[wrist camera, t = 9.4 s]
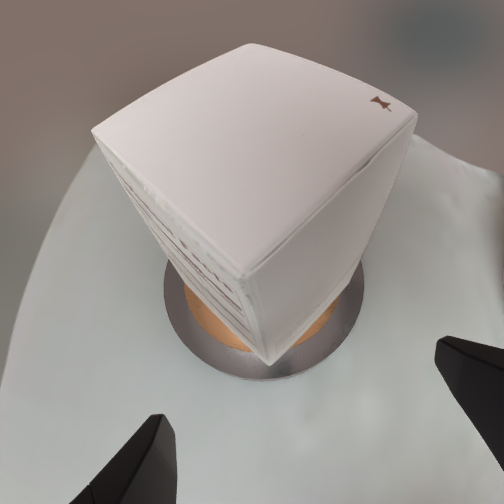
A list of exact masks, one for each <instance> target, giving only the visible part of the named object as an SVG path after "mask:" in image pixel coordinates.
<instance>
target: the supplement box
mask: <svg viewBox="0 0 504 504" xmlns="http://www.w3.org/2000/svg"><path fill="white" fill-rule="evenodd" d="M417 119H418V114H417V112H415V111H414V110H413V109H411V108H410V107H408V106H407V105H405V104H404V103H402V102H400V101H399V100H397V99H395V98H394V97H392V96H390V95H388V94H386V93H384V92H383V91H381V90H379V89H376V88H375V87H373V86H371V85H369V84H366V83H364V82H362V81H360V80H357V79H355V78H353V77H351V76H348V75H346V74H343V73H341V72H339V71H336V70H334V69H331V68H328V67H326V66H323V65H320V64H318V63H315V62H313V61H310V60H307V59H304V58H301V57H298V56H295V55H292V54H289V53H286V52H283V51H280V50H277V49H273V48H270V47H266V46H262V45H258V44H253V43H250V44H246V45H244V46H241V47H239V48H237V49H235V50H232V51H230V52H228V53H226V54H223V55H221V56H219V57H217V58H215V59H212V60H210V61H208V62H206V63H204V64H202V65H200V66H198V67H195V68H193V69H192V70H190V71H188V72H186V73H184V74H182V75H180V76H178V77H176V78H174V79H172V80H170V81H169V82H167V83H165V84H163V85H161V86H160V87H158V88H156V89H154V90H152V91H151V92H149V93H147V94H146V95H144V96H142V97H141V98H139V99H137V100H136V101H134V102H133V103H131V104H129V105H128V106H126V107H125V108H123V109H121V110H120V111H118V112H117V113H115V114H114V115H112V116H111V117H109V118H108V119H106V120H105V121H103V122H102V123H100V124H99V125H97V126H96V127H94V128H93V129H92V130H91V132H92V133H93V136H94V138H95V140H96V142H97V143H98V145H99V147H100V149H101V151H102V152H103V154H104V156H105V158H106V159H107V161H108V163H109V164H110V166H111V168H112V169H113V171H114V173H115V174H116V176H117V178H118V179H119V181H120V183H121V185H122V186H123V188H124V189H125V191H126V193H127V194H128V196H129V197H130V199H131V201H132V202H133V204H134V205H135V207H136V208H137V210H138V212H139V213H140V215H141V216H142V218H143V219H144V221H145V222H146V224H147V225H148V227H149V228H150V230H151V232H152V233H153V235H154V236H155V238H156V239H157V241H158V242H159V244H160V246H161V247H162V249H163V250H164V252H165V253H166V255H167V257H168V258H169V259H170V261H171V263H172V264H173V266H174V267H175V269H176V270H177V272H178V273H179V275H180V276H181V278H182V279H183V281H184V282H185V283H186V285H187V286H188V287H189V288H190V289H191V290H192V291H193V292H194V293H195V294H196V295H197V296H198V297H199V298H200V299H201V300H202V301H203V302H204V304H205V305H206V306H207V307H208V308H209V309H210V310H211V311H212V312H213V313H214V314H215V315H216V316H217V317H218V318H219V319H220V320H221V321H222V322H223V323H224V324H225V325H226V326H227V327H228V328H229V329H230V330H231V331H232V332H233V333H234V334H235V335H236V336H237V337H238V338H239V339H240V340H241V341H242V342H243V343H244V344H245V345H246V346H247V347H249V348H250V349H251V350H252V351H253V352H254V353H255V354H256V355H257V356H258V357H259V358H260V359H261V360H262V361H263V362H265V363H266V364H267V365H268V366H271V365H272V364H273V363H274V362H276V361H277V360H278V359H279V358H280V357H281V356H282V355H283V354H284V353H285V352H286V351H287V350H288V349H289V348H290V347H291V346H292V345H293V344H294V343H295V342H296V341H297V340H298V339H299V338H300V337H301V336H302V335H303V334H304V333H305V332H306V331H307V330H308V329H309V328H310V326H311V325H312V324H313V323H314V322H315V321H316V320H317V319H318V318H319V317H320V316H321V314H322V313H323V312H324V311H325V310H326V309H327V308H328V307H329V305H330V304H331V303H332V302H333V301H334V300H335V299H336V298H337V296H338V295H339V294H340V293H341V292H342V291H343V289H344V288H345V287H346V286H347V285H348V284H349V282H350V279H351V277H352V275H353V273H354V271H355V269H356V267H357V265H358V263H359V261H360V259H361V257H362V255H363V253H364V251H365V249H366V247H367V244H368V242H369V240H370V238H371V236H372V234H373V231H374V229H375V227H376V225H377V223H378V220H379V218H380V216H381V213H382V211H383V209H384V206H385V204H386V202H387V200H388V197H389V195H390V192H391V190H392V187H393V185H394V182H395V180H396V177H397V175H398V172H399V170H400V167H401V164H402V162H403V159H404V156H405V154H406V151H407V148H408V146H409V143H410V140H411V137H412V134H413V131H414V128H415V125H416V122H417Z"/></svg>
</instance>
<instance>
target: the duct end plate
mask: <svg viewBox="0 0 504 504" xmlns="http://www.w3.org/2000/svg"><path fill="white" fill-rule="evenodd" d="M363 292H364V275H363V269H362V264H361V261H359V263H358V265H357V267H356V269H355V271H354V273H353V275H352V277H351V279H350V282H349V284H348V285H347V286H346V287H345V288H344V289H343V291H342V292H341V293H340V294H339V295H338V296H337V298H336V299H335V300H334V301H333V302H332V303H331V304H330V305H329V307H328V308H327V309H326V310H325V311H324V312H323V313H322V314H321V316H320V317H319V318H318V319H317V320H316V321H315V322H314V323H313V324H312V325H311V326H310V328H309V329H308V330H307V331H306V332H305V333H304V334H303V335H302V336H301V337H300V338H299V339H298V340H297V341H296V342H295V343H294V344H293V345H292V346H291V347H290V348H289V349H288V350H287V351H286V352H285V353H284V354H283V355H282V356H281V357H280V358H279V359H278V360H277V361H276V362H274V363H273V364H272V365H271V366H268V365H267V364H266V363H265V362H263V361H262V360H261V359H260V358H259V357H258V356H257V355H256V354H255V353H254V352H253V351H252V350H251V349H250V348H249V347H247V346H246V345H245V344H244V343H243V342H242V341H241V340H240V339H239V338H238V337H237V336H236V335H235V334H234V333H233V332H232V331H231V330H230V329H229V328H228V327H227V326H226V325H225V324H224V323H223V322H222V321H221V320H220V319H219V318H218V317H217V316H216V315H215V314H214V313H213V312H212V311H211V310H210V309H209V308H208V307H207V306H206V305H205V304H204V302H203V301H202V300H201V299H200V298H199V297H198V296H197V295H196V294H195V293H194V292H193V291H192V290H191V289H190V288H189V287H188V286H187V285H186V283H185V282H184V281H183V279H182V278H181V276H180V275H179V273H178V272H177V270H176V269H175V267H174V266H173V264H172V263H171V261H170V259H169V260H168V263H167V267H166V271H165V277H164V299H165V305H166V310H167V313H168V316H169V319H170V322H171V324H172V326H173V328H174V330H175V332H176V333H177V335H178V336H179V337H180V339H181V340H182V342H183V343H184V344H185V345H186V346H187V347H188V348H189V349H190V350H191V352H192V353H194V354H195V355H196V356H197V357H199V358H200V359H201V360H202V361H204V362H205V363H207V364H209V365H210V366H212V367H214V368H215V369H217V370H219V371H221V372H223V373H225V374H228V375H230V376H233V377H237V378H241V379H245V380H253V381H275V380H281V379H286V378H290V377H293V376H296V375H299V374H302V373H304V372H306V371H308V370H310V369H312V368H313V367H315V366H316V365H318V364H319V363H321V362H322V361H324V360H325V359H326V358H327V357H328V356H329V355H330V354H332V353H333V352H334V351H335V350H336V349H337V348H338V347H339V346H340V344H341V343H342V342H343V341H344V340H345V338H346V337H347V336H348V334H349V333H350V331H351V329H352V328H353V326H354V324H355V322H356V319H357V317H358V315H359V312H360V308H361V305H362V300H363Z"/></svg>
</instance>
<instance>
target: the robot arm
mask: <svg viewBox="0 0 504 504" xmlns="http://www.w3.org/2000/svg"><path fill="white" fill-rule="evenodd" d="M434 360H435V364H436V366H437V368H438V370H439V371H440V373H441V375H442V377H443V378H444V380H445V382H446V384H447V385H448V387H449V389H450V391H451V392H452V394H453V396H454V397H455V399H456V400H457V402H458V403H459V405H460V406H461V407H462V409H463V410H464V412H465V413H466V414H467V416H468V417H469V419H470V420H471V422H472V423H473V425H474V426H475V428H476V429H477V430H478V432H479V433H480V435H481V436H482V438H483V439H484V441H485V442H486V444H487V446H488V447H489V449H490V450H491V452H492V453H493V455H494V456H495V458H496V460H497V461H498V463H499V464H500V466H501V468H502V469H503V471H504V349H501V348H497V347H493V346H488V345H484V344H480V343H476V342H472V341H468V340H464V339H460V338H456V337H452V336H445V337H443V338H440V339H439V340H438V341H437V344H436V351H435V358H434ZM176 494H177V461H176V443H175V433H174V430H173V428H172V427H171V425H170V423H169V421H168V420H167V418H166V416H165V415H164V414H153V415H151V416H150V417H149V418H148V419H147V420H146V421H145V422H144V423H143V424H142V426H141V427H140V428H139V429H138V430H137V431H136V432H135V433H134V435H133V436H132V437H131V438H130V439H129V440H128V441H127V442H126V444H125V445H124V446H123V447H122V448H121V449H120V450H119V451H118V453H117V454H116V455H115V456H114V457H113V458H112V459H111V460H110V461H109V462H108V464H107V465H106V466H105V467H104V468H103V469H102V470H101V471H100V472H99V473H98V474H97V476H96V477H95V478H94V479H93V480H92V481H91V482H90V483H89V485H87V486H86V487H85V488H84V489H83V490H82V492H81V493H80V494H79V495H78V496H77V497H76V498H75V499H74V500H73V501H71V502H70V503H69V504H176Z"/></svg>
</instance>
